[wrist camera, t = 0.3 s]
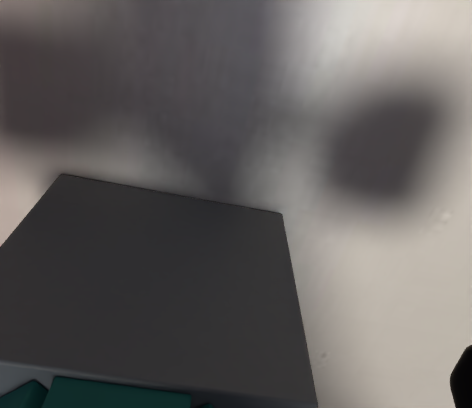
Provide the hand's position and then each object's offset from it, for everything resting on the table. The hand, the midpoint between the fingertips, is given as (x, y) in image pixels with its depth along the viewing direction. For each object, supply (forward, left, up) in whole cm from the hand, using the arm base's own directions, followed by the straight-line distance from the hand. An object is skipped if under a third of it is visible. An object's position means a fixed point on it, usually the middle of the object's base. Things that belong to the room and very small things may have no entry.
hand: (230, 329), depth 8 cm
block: (-9, +2, -12) cm, 14 cm away
